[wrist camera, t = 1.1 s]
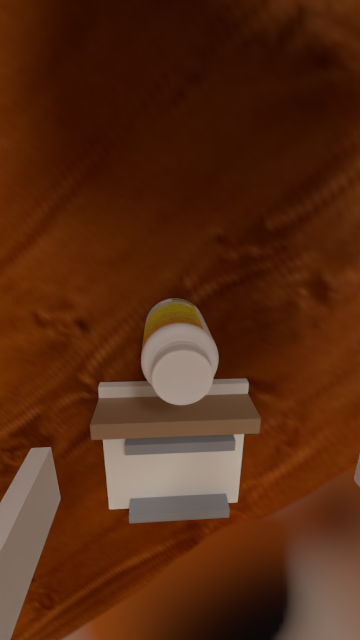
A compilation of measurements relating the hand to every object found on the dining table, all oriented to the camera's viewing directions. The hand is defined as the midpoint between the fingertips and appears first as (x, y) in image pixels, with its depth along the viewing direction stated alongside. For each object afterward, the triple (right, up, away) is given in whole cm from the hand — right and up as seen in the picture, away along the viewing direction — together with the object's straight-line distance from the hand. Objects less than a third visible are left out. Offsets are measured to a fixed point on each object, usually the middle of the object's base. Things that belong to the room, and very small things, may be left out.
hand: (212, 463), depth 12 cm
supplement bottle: (-2, +6, +16) cm, 17 cm away
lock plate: (-2, -8, +20) cm, 22 cm away
